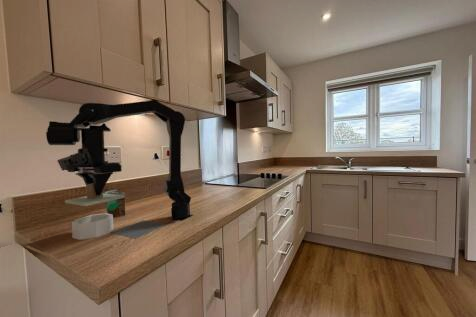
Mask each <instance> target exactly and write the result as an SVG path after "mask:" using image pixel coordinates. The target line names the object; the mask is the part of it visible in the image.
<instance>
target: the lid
mask: <svg viewBox="0 0 476 317" xmlns="http://www.w3.org/2000/svg"><path fill="white" fill-rule="evenodd" d="M121 198H123V195H114V194H105V192H104V190H103V191H102V193H101V195H98V196H97V195H96V193H95V188H94V183H92V184H87V186H86V196H80V197H75V198H68V199H64V203H65V204H71V205H77V206H82V207H88V206H93V205H97V204H102V203H106V202H107V201H112V200H116V199H121Z"/></svg>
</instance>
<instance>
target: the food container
mask: <svg viewBox="0 0 476 317" xmlns="http://www.w3.org/2000/svg"><path fill="white" fill-rule="evenodd" d="M104 193H105V194H114V195H123V198H121V199H116V200H112V201H107V202H105V206H106V213H107V214H113V219H114V218H119V217H124V216H126V193H125V192H124V191H123V192H121V191H118V188H117V189H112V190H107V191H105V192H104Z"/></svg>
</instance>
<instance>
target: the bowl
mask: <svg viewBox="0 0 476 317" xmlns="http://www.w3.org/2000/svg"><path fill="white" fill-rule="evenodd" d="M113 230H114V218H113V214H107V212H105V213H98V214H97V213H95V214H90V215H87V216H83V217H80V218H79V217H78V218H76V219H75V220H73V221H72V222H71V234H72V236H71V237H72V238H73V239H75V240H78V241H82V240H89V239H97V238H99V237H101V236H105V235H107V234H109V233H110V232H113Z"/></svg>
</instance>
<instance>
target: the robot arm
mask: <svg viewBox="0 0 476 317" xmlns="http://www.w3.org/2000/svg"><path fill="white" fill-rule="evenodd" d="M145 114H154V115H155V116H156V117H157V118H159V119H160V120H161V121H163V122H164V123H165V124H166V130H167V131H166V132H167V133H168V139H169V142H168V143H169V144H168V145H169V147H168V148H169V150H168V152H169V157H168V160H169V161H168V162H169V164H168V165H169V166H168V169H169V170H168V176H167V178H165V179H163V183H164V187H163V191H165V195H166V196H168V198H169V199H171V201H173V202H171V209H170V211H171V212H170V213H171V217H169V218H168V219H169V220H175V221H181V222H182V221H186V219H190V218H191V217H193V216H194V215H193V214H191V209H190V208H191V207H190V205H191V204H190V203H191V200H192V197H191V196H190V195H188V194H187V193H186V192H185V187H184V182H183V178H182V175H181V172H182V171H181V170H182V168H181V167H182V166H181V165H182V158H181V157H182V156H181V155H182V135H183V131H184V128H185V122H186V117H185V115H184V114H183V113H181V112H180V111H176V110H174V109H173V108H171V107H169V106H167V105H166V104H163V103H162V102H160V101H159V100H157V99H150V100H144V101H134V102H127V103H117V104H107V103H99V102H98V103H97V102H96V103H95V102H87V103H83V104H81V106H80V107H79V110H78V113H77V115H76V116H75V117H74V118H73V119H72V120H71V121H70V122H60V121H52V120H51V121H49V122H48V127H47V130H46V133H45V136H46V141H47V144H48V145H49V146H75V145H76V144H77V143H79V142H80V141H81V148H78V149H77V152H76V153H73V154H70V155H68V156H66V157H65V156H64V157H62V158H59V159H57V163H58V165H59V168H60V169H61V171H67V172H68V173H75V172H76V173H75V174H74V175H76V176H78V177H80V178H81V179H82V180H83V181H84V184H85V186H86V187H87V184H92V183H94V188H95V193H96V195H97V196H98V195H101V193H102V191H103V192H104V189H105V186H106V185H107V182H108V181H109V179H110V178H111V176H112V175H113V174H114V173H119V172H122V164H121V163H119V162H109V161H108V160H106V158H105V152H106V153H108V148H106V147H105V132H106V133H107V132H109V133H110V132H111V131H112V130H111V128H110V127H108V126H107V124H106V123H107V122H110V121H112V120H114V119H117V118H122V117H123V118H124V117H130V116H139V115H145ZM105 160H106V161H105Z"/></svg>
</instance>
